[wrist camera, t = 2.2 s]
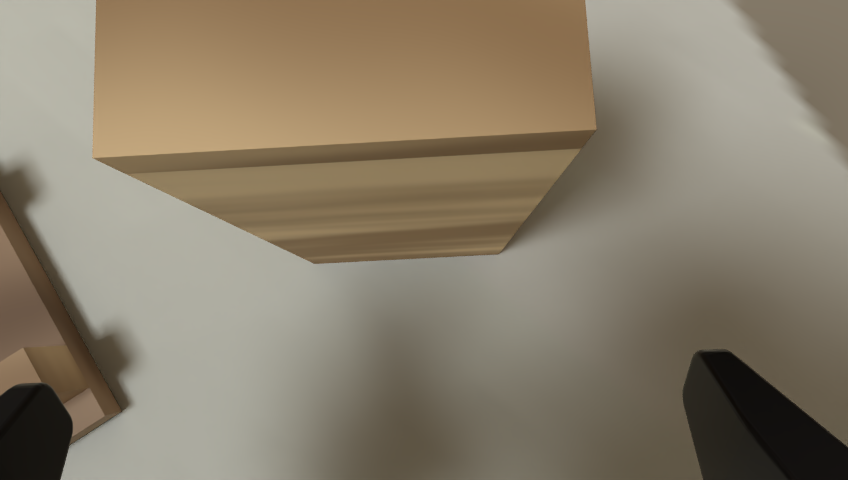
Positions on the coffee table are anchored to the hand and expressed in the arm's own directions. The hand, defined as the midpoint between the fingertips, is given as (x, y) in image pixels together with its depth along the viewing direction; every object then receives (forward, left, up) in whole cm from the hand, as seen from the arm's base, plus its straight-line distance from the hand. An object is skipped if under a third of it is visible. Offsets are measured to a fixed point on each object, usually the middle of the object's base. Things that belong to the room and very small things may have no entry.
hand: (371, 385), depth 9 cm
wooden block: (+4, +1, -11) cm, 12 cm away
